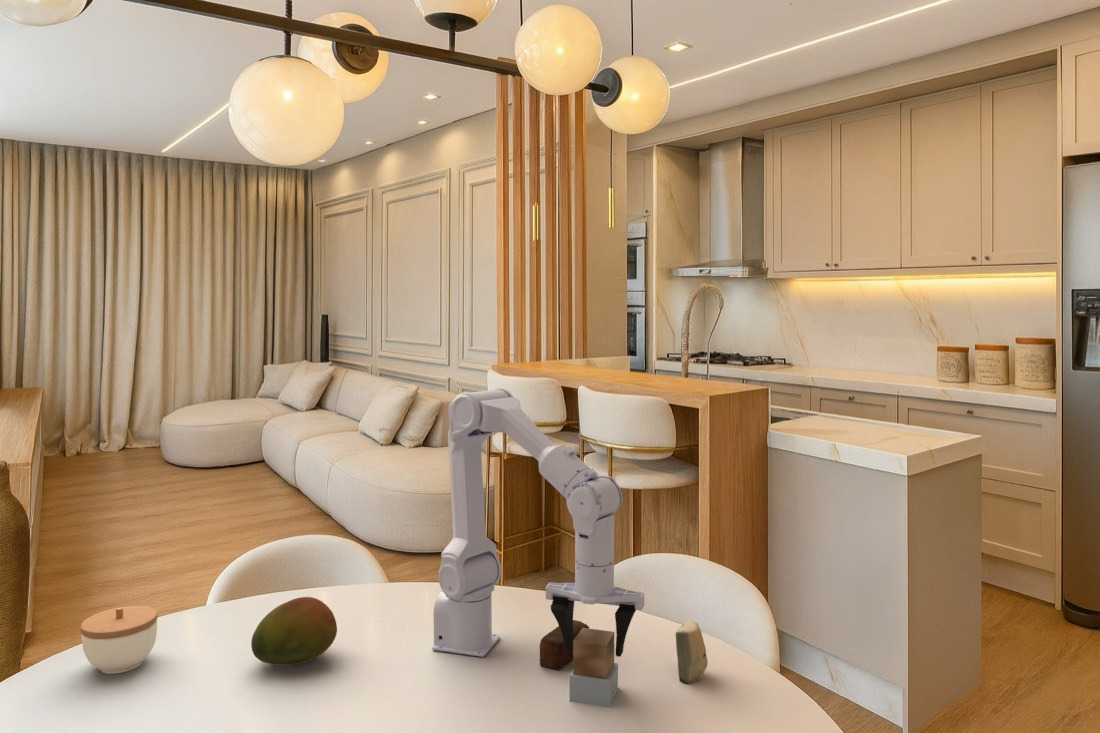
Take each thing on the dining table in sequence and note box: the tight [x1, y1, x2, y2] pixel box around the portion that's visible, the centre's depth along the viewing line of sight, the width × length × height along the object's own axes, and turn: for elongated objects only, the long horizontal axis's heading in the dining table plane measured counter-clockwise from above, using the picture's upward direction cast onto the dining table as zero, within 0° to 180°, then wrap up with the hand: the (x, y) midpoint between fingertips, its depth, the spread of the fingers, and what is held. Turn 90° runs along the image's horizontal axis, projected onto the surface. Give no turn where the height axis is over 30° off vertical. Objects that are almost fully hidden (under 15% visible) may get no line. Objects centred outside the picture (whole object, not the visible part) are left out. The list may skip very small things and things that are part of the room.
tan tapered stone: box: [675, 619, 708, 684], centre depth 117 cm, size 6×5×8 cm
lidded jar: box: [79, 605, 159, 675], centre depth 121 cm, size 11×11×9 cm
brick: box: [539, 619, 590, 671], centre depth 124 cm, size 11×4×5 cm, turn 151°
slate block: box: [568, 662, 619, 708], centre depth 112 cm, size 6×6×4 cm
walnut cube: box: [572, 627, 616, 679], centre depth 111 cm, size 5×5×5 cm
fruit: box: [250, 596, 338, 666], centre depth 122 cm, size 12×13×10 cm
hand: (594, 650), depth 111 cm, fingers open, 7 cm apart
